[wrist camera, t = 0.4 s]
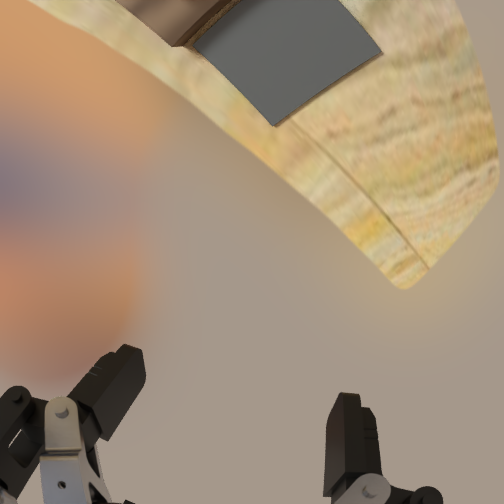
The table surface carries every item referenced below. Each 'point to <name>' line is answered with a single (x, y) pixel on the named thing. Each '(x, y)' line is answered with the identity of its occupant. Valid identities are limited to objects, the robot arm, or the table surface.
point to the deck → (174, 16)
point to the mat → (285, 50)
